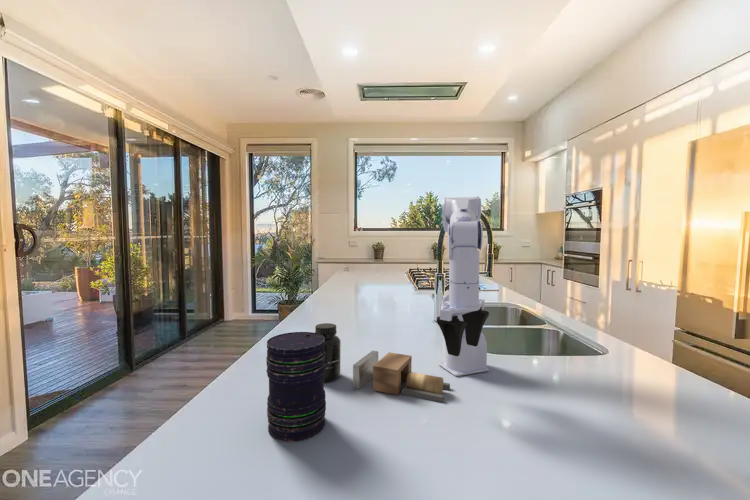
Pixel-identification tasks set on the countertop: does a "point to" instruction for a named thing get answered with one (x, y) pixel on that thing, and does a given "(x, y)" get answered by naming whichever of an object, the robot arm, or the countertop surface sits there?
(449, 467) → the countertop surface
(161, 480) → the countertop surface
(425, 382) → the oak dowel
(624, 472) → the countertop surface
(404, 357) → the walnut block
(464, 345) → the robot arm
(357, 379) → the steel backstop wall
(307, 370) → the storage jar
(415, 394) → the guide rails
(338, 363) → the supplement bottle
